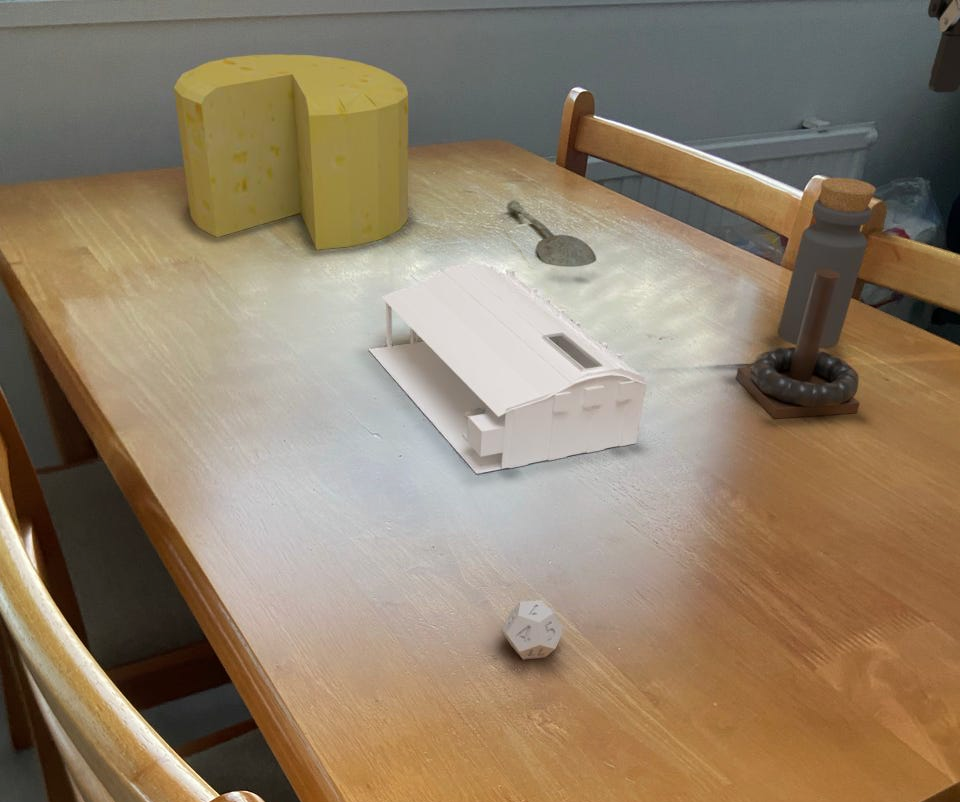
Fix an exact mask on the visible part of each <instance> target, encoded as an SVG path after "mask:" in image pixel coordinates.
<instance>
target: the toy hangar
mask: <svg viewBox="0 0 960 802" xmlns="http://www.w3.org/2000/svg"><path fill="white" fill-rule="evenodd" d="M515 275H516V273H515V270H514V269H513V268H509V269H506V274H505V273H503V272H501V271H498V269H496V268H494V267H493V266H488V265H486V264H480V263H477V262H476V261H475V262H473V263H471V262H470V263H464V264H460V263H458V264H455V265H452V266H449V267H446V268H444V269H442V268H441V269H440V271H439V272H437V273H435V274H433V275H432V276H431V277H429V278H428V279H426V280H425V281H423V282H422V283H419V284H415V285H412V286H408V287H404V288H400V289H397V290H393V291H391V292H389V293H386V294H385V295H383V296H381V298H382V300H383V301H384V302H385V304H386V305H385V323H386V325H385V327H386V329H385V330H386V331H385V332H386V335H385V337H386V340H385V341H386V342H385V343H386V346H381V347H375V348H368V351H369V352H370V353H371V354H372V355H373V357H374V358H375V359H376V360H377V361H378V363H379V364H380V365H381V366H382V367H383V368H384V369H385V370H386V371H387V373H388V375H390V376H391V378H392V379H394V381H396V383H397V384H398V385H399V387H401V389H402V390H403V391H404V392H405V394H406V395H407V396H409V398H410V399H411V400H412V402H414V404H415V405H416V406H417V407H418V409H420V411H421V412H422V413H423V414H424V415H425V416H426V418H427V419H428V420H429V421H430V422H431V423H432V424H433V425H434V427H435V428H436V429H437V430H438V431H439V432H440V433H441V435H442V436H443V437H444V438H445V439H446V441H448V443H449V444H450V445H451V446H452V448H453V449H454V450H455V451H456V452H457V453H458V454H459V456H460V457H461V458H462V459H463V460H464V461H465V462H466V464H468V466H469V467H470V468H471V470H472V471H473V472H474V473H475V474H476V475H479V474H484V473H489V472H493V471H498V470H503V469H514V468H518V467H519V468H520V467H523V466H528V465H529V464H534V463H538V462H544V461H554V460H559V459H565V458H567V457H569V456H574V455H580V454H583V453H586V454H589V453H594V452H599V451H604V450H605V449H609V448H615V447H624V446H625V447H626V446H630V445H635V444H638V443H637V442H638V436H639V430H640V425H641V418H642V412H643V406H644V401H645V396H646V395H645V394H646V391H647V390H646V389H647V383H646V382H644V381H645V377H644V376H643V375H641V374H640V373H639V372H638V371H637V370H635V369H634V368H632V367H631V366H630V365H629V364H628V363H626V361H624V360H622V356H623V355H622V354H620V353H619V352H615V353H614V352H612V351H611V350H610V349H608V347H609V344H608V343H606V342H605V341H603V342H600V341H598V340H597V339H596V338H594V337H593V336H592V335H591V334H589V333H588V331H586V330H585V329H583V328H581V322H579V321H578V320H575V321H573V320H572V319H570V318H569V317H567V316H566V315H565V310H564V309H563V308H556V307H555V306H554V305H552V303H551V299H550V298H549V297H542V296H541V295H540V294H538V289H537V288H536V287H530V286H528V285H527V284H525V283H524V282H523V281H522V280H521V279H519V278H518V277H517V276H515ZM392 310H393V311H394V312H395V313H396V314H397V315H398V316H399V317H400V318H401V319H402V321H404V322H405V323H406V325H408V326H409V327H410V341H409V343H404V344H403V343H402V344H396V345H393V333H392V332H393V330H392V329H393V328H392V327H393V326H392V325H393V324H392V323H393V320H392ZM417 335H418V336H419V337H420V338H421V340H422V341H418V342H417Z"/></svg>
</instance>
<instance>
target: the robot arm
mask: <svg viewBox="0 0 960 802" xmlns="http://www.w3.org/2000/svg"><path fill="white" fill-rule="evenodd" d="M927 14H928V17H929V18H933V19H934V18H936V19H937V21H938V30H939V31H940V32H941V36H940V40H939V43H938V47H937V51H936V53H935V57H934V61H933V65H932V68H931V71H930V79H929V82H928V89H929V90H930V91H933V92H935V93H954V92H956V91H958V89H959V88H960V0H930V1H929V4H928V8H927Z"/></svg>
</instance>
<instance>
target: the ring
mask: <svg viewBox="0 0 960 802" xmlns="http://www.w3.org/2000/svg"><path fill="white" fill-rule="evenodd" d="M795 348H796V346H795V347H794V346H792V347H776V348H772V349H769V350H767V351H765V352H762V353H760V354H758V355H757V356H756V357H755V359H754V360H753V363H752V365H751V367H752V369H751V378H752V380H753V381H754V382H755V384H756V385H757V386H758V387H759V388H760V389H761V391H762V392H764V393H765V394H768V395H770V396H772V397H774V398H776V399H778V400H780V401H783V402H785V403H790V404H795V405H800V406H805V407H831V406H836V405H839V404H841V403H843V402H845V401H847V400H849V399H851V398H853V397H854V398H855V396H856V394H857V392H858V388H859V380H860V376H859V373H858V372H857V371H856V370H855V369H854V368H853V367H852V366H851V365H850V364H849V363H848V362H847V361H846V360H844V359H842V358H840V357H837V356H835V355H833V354H830V353H827V352H825V351H823V350H819V353H818V357H817V360H816V364H815V367H814V371H813V373H814V374H817V375H819V376H822V377H824V378H826V379H828V380H830V381H831V383H809V382H804V381H799V380H794V379H791V378H789V377H787V376H785V375H782V374H780V373H778V372H777V371H781V370H790V367H791V363H792V360H793V356H794V352H795Z"/></svg>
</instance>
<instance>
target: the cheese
mask: <svg viewBox="0 0 960 802" xmlns="http://www.w3.org/2000/svg"><path fill="white" fill-rule="evenodd" d="M407 87H408V86H407V85H406V84H405V83H404V82H403V81H402V80H401V79H400V78H398V77H397V76H395V75H393V74H392V73H390V72H388V71H386V70H383V69H381V68H380V67H377V66H373V65H370V64H367V63H363V62H360V61H356V60H349V59H344V58H338V57H330V56H320V55H309V54H285V53H284V54H280V53H279V54H251V55H242V56H241V55H240V56H233V57H225V58H221V59H217V60H216V59H215V60H212V61H208V62H206V63H202V64H200V65H199V66H197V67H195V68H193V69H190V70H188V71H185V72H183V73H182V74H181V75H180V76H179V78H178V79H177V81H176V83H175V84H174V86H173V91H174V100H175V107H176V115H177V116H176V117H177V122H178V130H179V138H180V144H181V153H182V154H181V155H182V160H183V161H182V162H183V168H184V169H183V170H184V176H185V184H186V190H187V200H188V207H189V214H190V218H191V220H192V221H193V223H194V224H195V226H196V227H197V228H198V229H200V230H202V231H204V232H206V233H207V234H210V235H211V236H213V237H215V238H220V237H223V236H226V235H230V234H234V233H237V232H240V231H244V230H246V229H250V228H251V229H252V228H254V227H257V226H260V225H264V224H267V223H271V222H275V221H278V220H281V219H284V218H288V217H292V216H295V215H298V214H301V216H302V219H303V221H304V223H305V226H306V228H307V231H308V233H309V235H310V238H311V241H312V243H313V245H314V248H315V250H316V251H320V250H330V249H341V248H349V247H354V246H359V245H363V244H368V243H372V242H375V241H376V242H377V241H380V240H382V239H384V238H386V237H388V236H391V235H393V234H394V233H396V232H399V231H400V230H401V229H402V228H403V226H404V225H405V224H406V223H407V222H408V221H409V91H408V88H407Z"/></svg>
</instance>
